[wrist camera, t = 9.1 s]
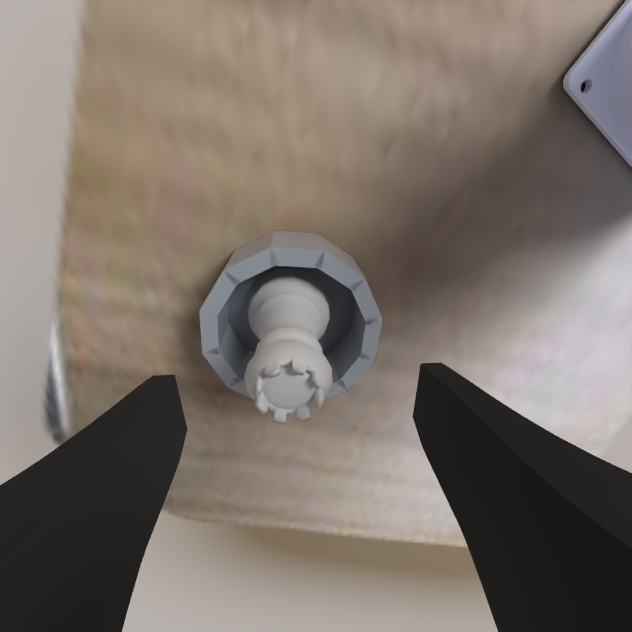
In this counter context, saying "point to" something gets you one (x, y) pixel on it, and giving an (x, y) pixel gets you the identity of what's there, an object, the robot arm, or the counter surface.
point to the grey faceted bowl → (344, 300)
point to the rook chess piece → (288, 344)
